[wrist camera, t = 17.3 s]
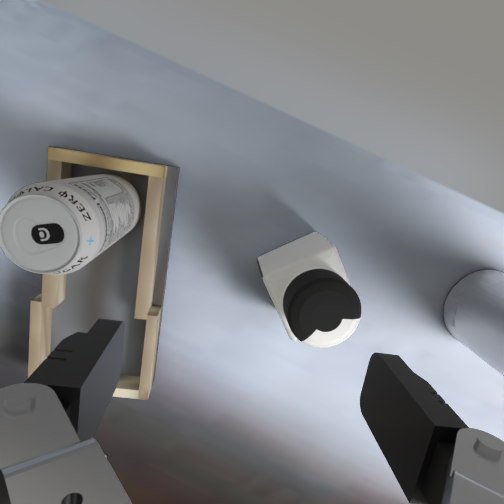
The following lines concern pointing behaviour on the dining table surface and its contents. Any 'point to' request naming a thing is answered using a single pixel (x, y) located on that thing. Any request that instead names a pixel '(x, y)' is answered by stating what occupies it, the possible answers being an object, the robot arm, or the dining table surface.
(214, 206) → the dining table surface
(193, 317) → the dining table surface
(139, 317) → the keyhole guide
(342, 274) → the medicine bottle
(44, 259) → the energy drink can
